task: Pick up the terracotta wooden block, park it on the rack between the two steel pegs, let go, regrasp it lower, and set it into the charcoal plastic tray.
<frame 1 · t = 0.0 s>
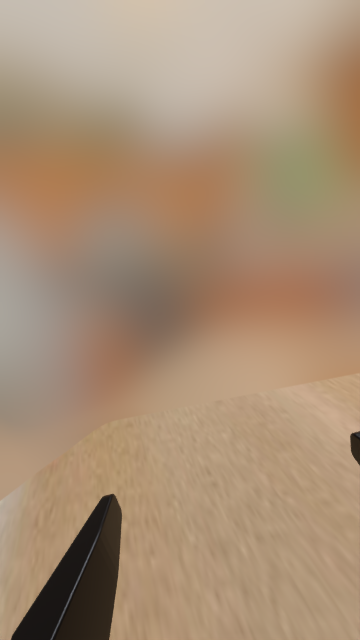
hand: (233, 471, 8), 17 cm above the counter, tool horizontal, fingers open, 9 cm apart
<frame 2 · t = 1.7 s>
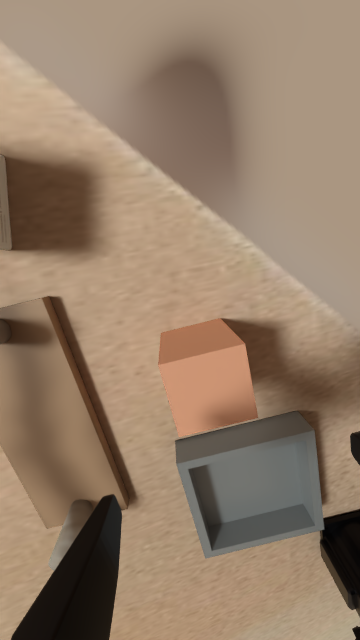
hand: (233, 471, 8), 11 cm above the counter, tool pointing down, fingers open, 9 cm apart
block: (197, 352, 19), on the counter
tray: (246, 473, 22), on the counter
peg rack: (50, 421, 19), on the counter
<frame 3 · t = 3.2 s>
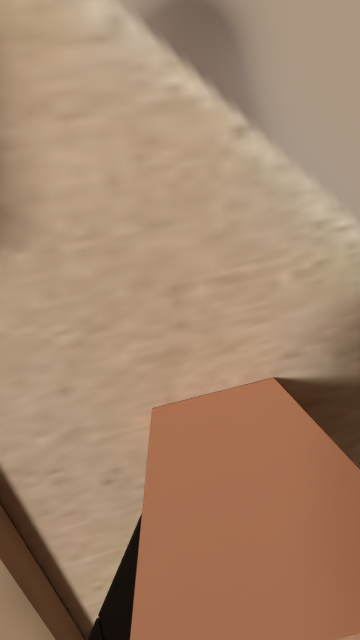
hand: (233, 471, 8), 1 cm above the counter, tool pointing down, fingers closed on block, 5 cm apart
block: (224, 442, 9), on the counter, touching gripper
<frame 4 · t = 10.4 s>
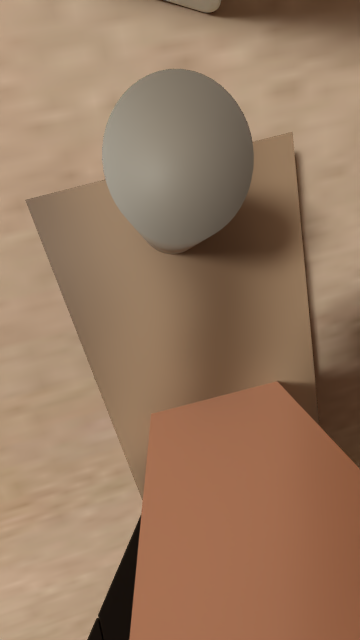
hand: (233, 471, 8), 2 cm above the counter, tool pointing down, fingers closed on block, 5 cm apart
block: (226, 448, 9), point 1 cm above the counter, touching gripper, peg rack
peg rack: (219, 431, 10), on the counter
when the fingers open (3 cm above the counter, at t = 15.3 s): block drops 2 cm, resting on tray.
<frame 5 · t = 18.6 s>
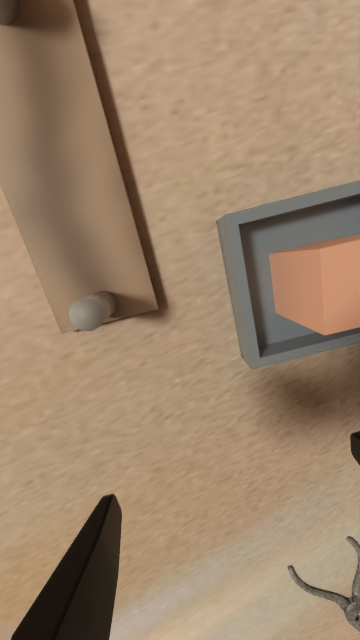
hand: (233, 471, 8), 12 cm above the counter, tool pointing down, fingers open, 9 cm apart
pliers: (348, 578, 30), on the counter
block: (301, 277, 18), resting on tray
tray: (297, 277, 19), on the counter
peg rack: (66, 181, 16), on the counter
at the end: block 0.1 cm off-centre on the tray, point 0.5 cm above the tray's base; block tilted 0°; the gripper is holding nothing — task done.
